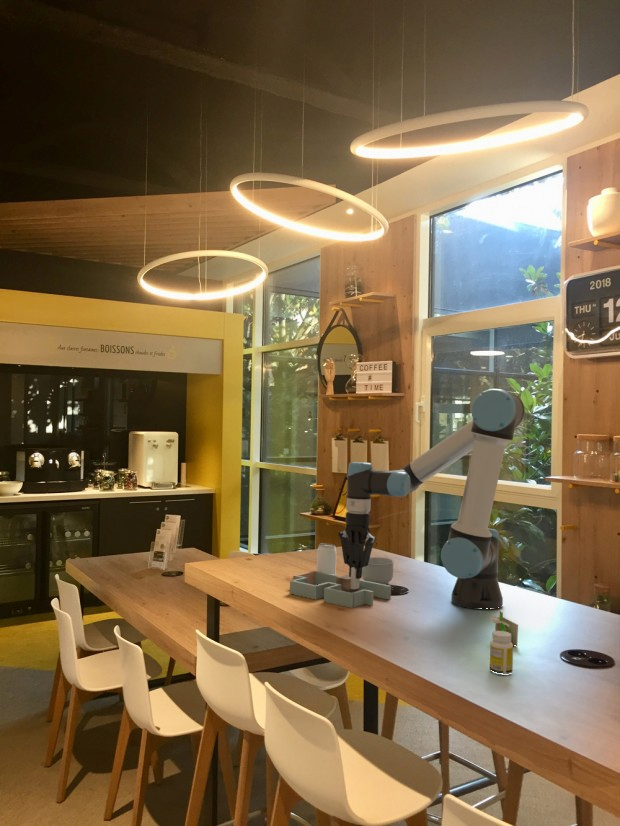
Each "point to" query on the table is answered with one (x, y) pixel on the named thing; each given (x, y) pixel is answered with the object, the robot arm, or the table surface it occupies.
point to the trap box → (336, 589)
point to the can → (326, 558)
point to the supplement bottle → (501, 652)
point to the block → (345, 583)
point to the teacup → (378, 570)
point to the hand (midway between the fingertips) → (354, 588)
